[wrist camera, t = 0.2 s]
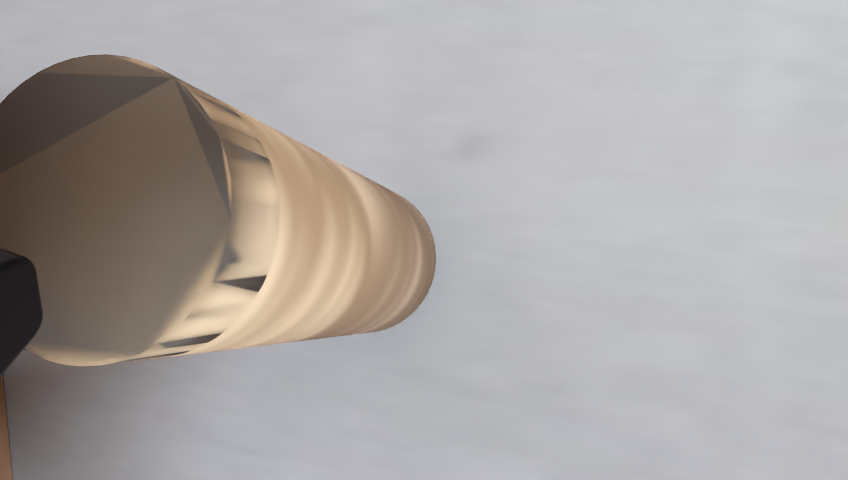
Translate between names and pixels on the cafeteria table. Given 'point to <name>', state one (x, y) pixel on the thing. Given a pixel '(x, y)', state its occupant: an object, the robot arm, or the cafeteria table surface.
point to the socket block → (4, 438)
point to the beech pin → (190, 222)
